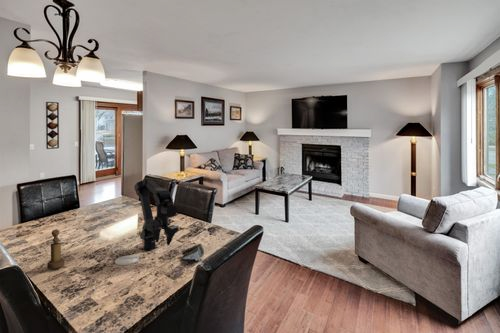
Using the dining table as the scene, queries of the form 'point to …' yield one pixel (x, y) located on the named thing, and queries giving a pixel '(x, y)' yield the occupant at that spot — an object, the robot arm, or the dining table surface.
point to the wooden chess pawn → (55, 252)
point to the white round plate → (126, 260)
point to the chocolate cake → (193, 252)
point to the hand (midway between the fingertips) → (162, 243)
